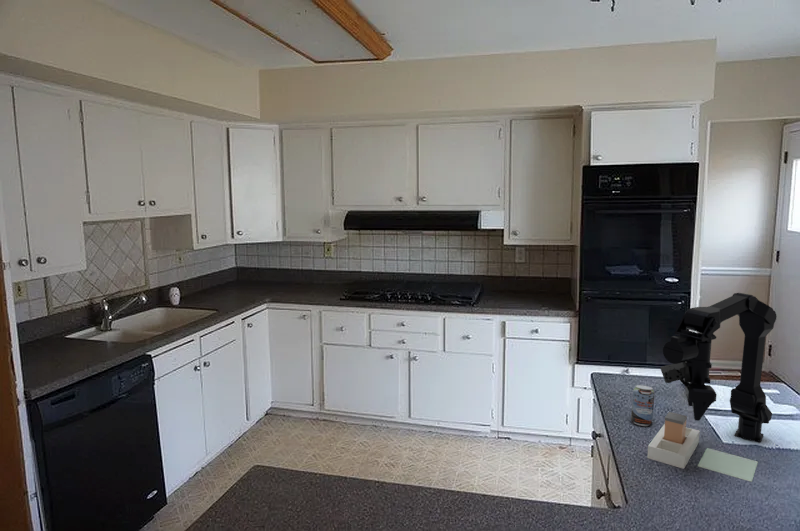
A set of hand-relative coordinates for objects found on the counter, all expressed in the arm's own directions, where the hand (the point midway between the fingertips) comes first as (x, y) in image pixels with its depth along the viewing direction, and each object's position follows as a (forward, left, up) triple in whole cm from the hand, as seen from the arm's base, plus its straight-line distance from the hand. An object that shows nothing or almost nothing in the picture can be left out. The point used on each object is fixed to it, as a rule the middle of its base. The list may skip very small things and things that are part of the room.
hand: (693, 412), depth 143 cm
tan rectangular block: (-2, -5, -13) cm, 14 cm away
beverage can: (-14, -17, -14) cm, 26 cm away
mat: (-2, +8, -13) cm, 16 cm away
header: (-2, -5, -13) cm, 14 cm away
